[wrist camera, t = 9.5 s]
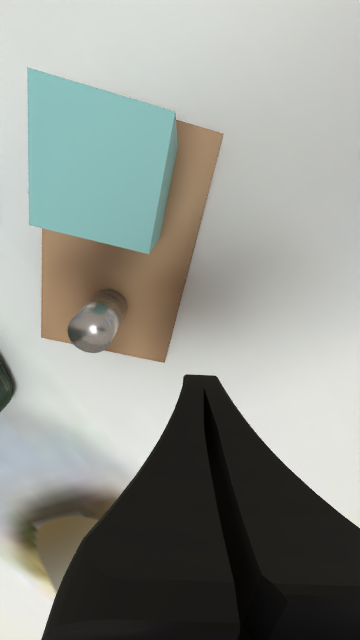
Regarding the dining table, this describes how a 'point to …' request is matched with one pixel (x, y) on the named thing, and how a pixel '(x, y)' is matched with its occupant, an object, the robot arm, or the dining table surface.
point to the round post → (98, 321)
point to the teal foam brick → (98, 162)
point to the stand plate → (134, 260)
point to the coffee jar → (4, 388)
